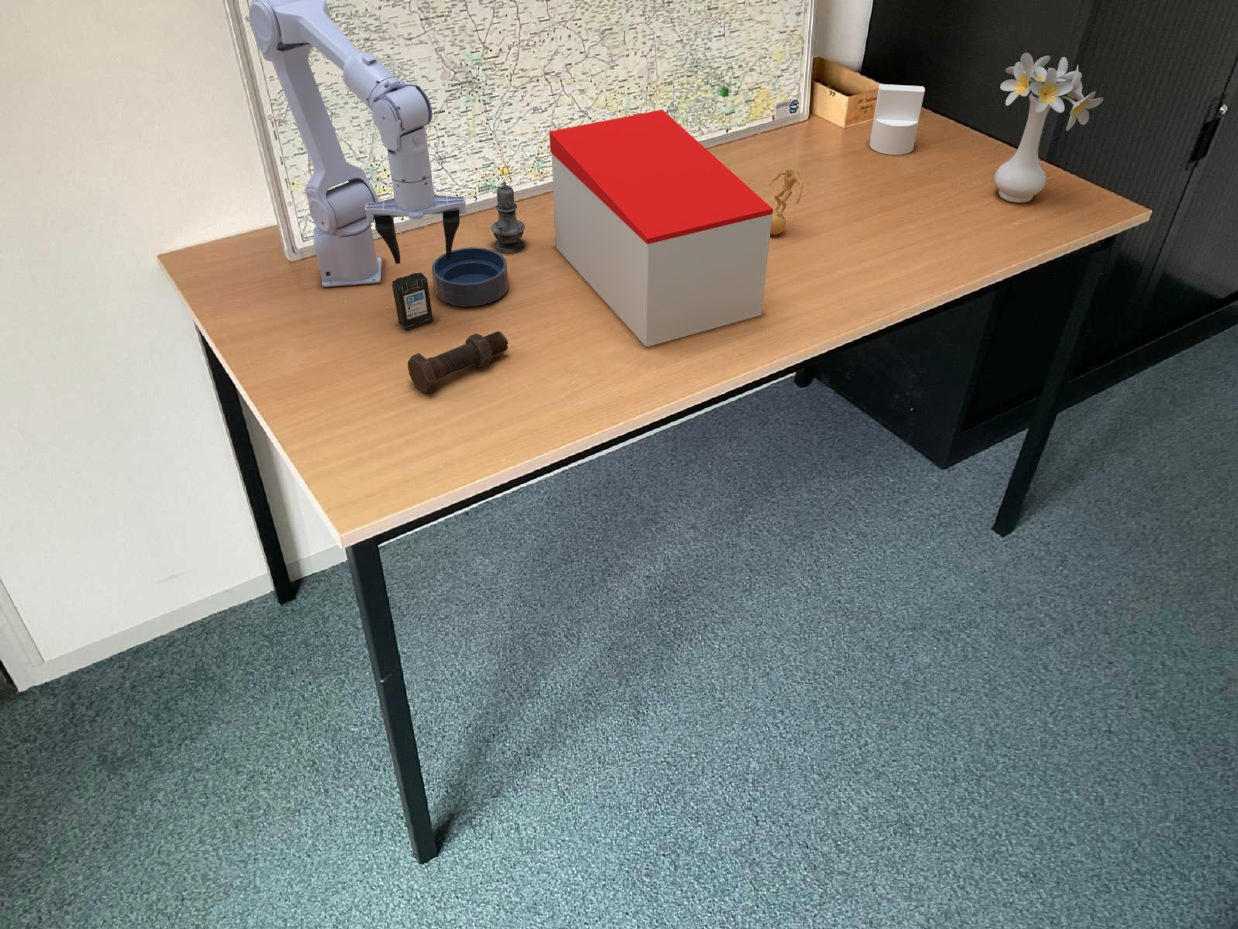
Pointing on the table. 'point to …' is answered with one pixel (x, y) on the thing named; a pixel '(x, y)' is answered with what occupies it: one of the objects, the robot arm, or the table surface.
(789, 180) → the figurine
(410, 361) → the bolt
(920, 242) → the table surface
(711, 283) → the red-topped grey box
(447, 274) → the bowl
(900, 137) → the base with upright slab
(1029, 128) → the flower vase
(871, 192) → the table surface
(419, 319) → the ink cartridge
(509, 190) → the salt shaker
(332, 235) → the robot arm
